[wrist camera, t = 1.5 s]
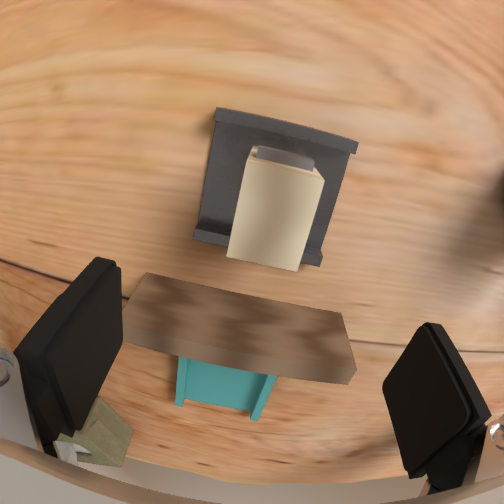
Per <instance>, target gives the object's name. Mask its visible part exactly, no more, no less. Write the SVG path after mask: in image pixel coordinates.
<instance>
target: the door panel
mask: <svg viewBox="0 0 504 504" xmlns="http://www.w3.org/2000/svg"><path fill="white" fill-rule="evenodd" d="M122 321H123V342H127V343H130V344H134V345H137V346H141V347H144V348H148V349H152V350H155V351H159V352H163V353H167V354H171V355H175V356H179V357H183V358H187V359H191V360H196V361H200V362H205V363H209V364H214V365H219V366H224V367H229V368H234V369H239V370H244V371H250V372H256V373H261V374H267V375H274V376H280V377H287V378H294V379H301V380H309V381H317V382H326V383H335V384H346V385H348V383H349V382H350V380H351V378H352V377H353V375H354V374H355V372H356V370H357V368H356V364H355V360H354V357H353V353H352V349H351V346H350V342H349V339H348V335H347V332H346V328H345V325H344V321H343V318H342V315H341V313H337V312H331V311H326V310H320V309H315V308H309V307H304V306H299V305H294V304H289V303H283V302H278V301H273V300H268V299H263V298H259V297H254V296H249V295H244V294H239V293H235V292H230V291H225V290H221V289H216V288H212V287H207V286H203V285H198V284H194V283H189V282H185V281H181V280H176V279H172V278H168V277H164V276H159V275H155V274H151V273H146V274H145V276H144V277H143V279H142V280H141V282H140V283H139V285H138V286H137V288H136V290H135V291H134V293H133V294H132V296H131V297H130V299H129V300H128V302H127V304H126V305H125V307H124V308H123V310H122Z"/></svg>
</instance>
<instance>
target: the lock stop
mask: <svg viewBox="0 0 504 504" xmlns="http://www.w3.org/2000/svg"><path fill="white" fill-rule="evenodd" d="M314 165H315V162H314V161H313V159H312V158H311V157H307V156H303V155H299V154H295V153H291V152H287V151H283V150H279V149H275V148H270V147H266V146H261V145H259V146H254V145H253V147H252V149H251V152H250V154H249V157H248V159H247V161H246V166H245V170H244V175H243V180H242V184H241V189H240V194H239V198H238V203H237V208H236V213H235V217H234V222H233V227H232V232H231V237H230V241H229V246H228V251H227V256H226V257H230V258H235V259H239V260H244V261H248V262H253V263H258V264H262V265H267V266H272V267H276V268H281V269H286V270H291V271H295V272H297V270H298V267H299V264H300V261H301V258H302V255H303V251H304V248H305V245H306V242H307V239H308V235H309V232H310V229H311V226H312V222H313V219H314V216H315V212H316V209H317V206H318V202H319V199H320V196H321V192H322V189H323V185H324V182H325V180H324V179H323V177H322V176H321V175H320V173H319V172H318V171H317V169H316V168H315V167H314Z"/></svg>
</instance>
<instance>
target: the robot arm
mask: <svg viewBox="0 0 504 504" xmlns="http://www.w3.org/2000/svg"><path fill="white" fill-rule="evenodd" d="M122 342H123V321H122V293H121V268H120V267H117V266H116V262H115V261H113V260H109V259H105V258H101V257H96V258H94V259H93V260H92V262H91V263H90V264H89V265H88V266H87V267H86V268H85V269H84V270H83V271H82V272H81V273H80V275H79V276H78V277H77V278H76V279H75V280H74V281H73V282H72V283H71V285H70V286H69V287H68V288H67V289H66V290H65V291H64V293H62V294H61V295H59V296H58V297H57V299H56V300H55V301H54V302H53V303H52V304H51V306H50V307H49V308H48V309H47V310H46V312H45V313H44V314H43V315H42V316H41V318H40V319H39V320H38V321H37V322H36V324H35V325H34V326H33V327H32V329H31V330H30V331H29V332H28V334H27V335H26V336H25V338H24V339H23V340H22V341H21V343H20V344H19V345H18V347H17V348H16V349H15V351H14V352H13V353H12V352H10V351H9V350H7V349H5V348H1V347H0V504H220V503H213V502H206V501H201V500H195V499H190V498H184V497H179V496H175V495H170V494H165V493H161V492H157V491H153V490H150V489H146V488H142V487H139V486H135V485H131V484H128V483H125V482H121V481H118V480H115V479H112V478H108V477H105V476H102V475H99V474H97V473H93V472H91V471H88V470H86V469H83V468H80V467H78V466H75V465H73V464H70V463H68V462H65V461H63V460H62V459H61V457H60V454H59V451H58V448H57V445H56V443H55V441H56V440H57V439H58V437H59V435H60V433H62V434H64V435H67V436H69V437H71V438H72V437H73V435H74V433H75V431H76V430H78V431H80V430H81V429H82V428H83V426H84V424H85V421H86V419H87V417H88V415H89V412H90V410H91V408H92V406H93V404H94V401H95V399H96V397H97V395H98V393H99V391H100V389H101V386H102V384H103V382H104V380H105V378H106V376H107V374H108V372H109V370H110V368H111V366H112V364H113V362H114V360H115V358H116V356H117V354H118V352H119V350H120V348H121V345H122ZM382 390H383V394H384V397H385V400H386V404H387V407H388V410H389V414H390V417H391V421H392V424H393V428H394V431H395V435H396V439H397V442H398V446H399V450H400V454H401V458H402V462H403V466H404V469H405V470H406V471H408V475H409V479H413V478H419V477H422V476H424V475H425V474H427V476H428V478H427V480H426V482H425V484H424V487H423V489H422V491H421V493H420V495H419V497H417V498H413V499H407V500H401V501H395V502H389V503H382V504H504V422H502V421H500V420H494V421H491V422H490V423H489V424H488V425H487V426H485V424H484V423H485V422H486V421H487V420H488V419H489V418H490V417H491V416H492V415H491V413H490V411H489V409H488V407H487V405H486V403H485V401H484V399H483V397H482V395H481V393H480V391H479V389H478V387H477V385H476V383H475V381H474V380H473V378H472V376H471V374H470V372H469V370H468V369H467V367H466V365H465V363H464V361H463V360H462V358H461V356H460V354H459V353H458V351H457V349H456V348H455V346H454V344H453V343H452V341H451V339H450V338H449V336H448V334H447V333H446V331H445V329H444V328H443V326H442V325H440V324H435V323H428V322H427V323H424V324H423V325H422V326H420V327H419V328H418V329H417V331H416V332H415V334H414V336H413V337H412V339H411V341H410V342H409V344H408V345H407V347H406V349H405V350H404V352H403V353H402V355H401V356H400V358H399V359H398V361H397V362H396V364H395V365H394V367H393V368H392V370H391V371H390V373H389V374H388V376H387V377H386V379H385V380H384V382H383V386H382Z"/></svg>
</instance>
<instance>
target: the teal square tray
mask: <svg viewBox="0 0 504 504" xmlns="http://www.w3.org/2000/svg"><path fill="white" fill-rule="evenodd" d="M276 378H277V376H274V375H267V374H261V373H256V372H250V371H244V370H239V369H234V368H229V367H224V366H219V365H214V364H209V363H205V362H200V361H196V360H191V359H187V358H183V357H179V361H178V372H177V385H176V398H175V405H177V406H181V407H183V403H184V399H189V400H194V401H198V402H203V403H208V404H213V405H218V406H223V407H228V408H234V409H240V410H246V411H251V412H250V420H253V421H258V419H259V416H260V414H261V412H262V410H263V408H264V405H265V403H266V401H267V398H268V396H269V394H270V392H271V389H272V387H273V385H274V382H275V380H276Z"/></svg>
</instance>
